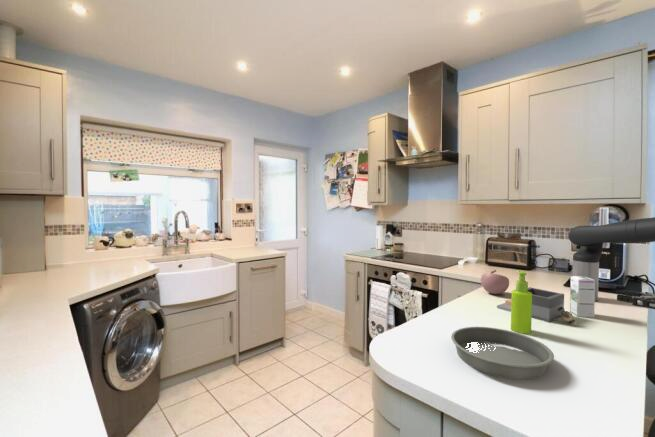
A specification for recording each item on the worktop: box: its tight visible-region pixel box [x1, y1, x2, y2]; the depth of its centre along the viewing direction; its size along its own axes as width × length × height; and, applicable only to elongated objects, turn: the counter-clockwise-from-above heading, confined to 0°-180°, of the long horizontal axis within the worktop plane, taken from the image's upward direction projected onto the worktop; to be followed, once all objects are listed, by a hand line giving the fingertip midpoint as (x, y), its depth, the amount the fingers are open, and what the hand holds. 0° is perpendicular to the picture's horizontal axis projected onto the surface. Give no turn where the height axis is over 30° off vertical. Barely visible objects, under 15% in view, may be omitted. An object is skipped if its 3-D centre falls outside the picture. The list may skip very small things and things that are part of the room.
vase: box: [557, 307, 579, 327], centre depth 112 cm, size 5×5×6 cm
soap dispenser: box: [510, 270, 533, 335], centre depth 106 cm, size 6×7×20 cm
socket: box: [496, 286, 565, 323], centre depth 124 cm, size 12×19×8 cm, turn 32°
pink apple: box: [480, 269, 510, 295], centre depth 150 cm, size 12×12×11 cm
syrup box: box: [569, 276, 596, 318], centre depth 121 cm, size 6×6×14 cm
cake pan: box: [450, 326, 555, 380], centre depth 86 cm, size 25×25×4 cm
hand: (621, 295), depth 111 cm, fingers open, 8 cm apart
